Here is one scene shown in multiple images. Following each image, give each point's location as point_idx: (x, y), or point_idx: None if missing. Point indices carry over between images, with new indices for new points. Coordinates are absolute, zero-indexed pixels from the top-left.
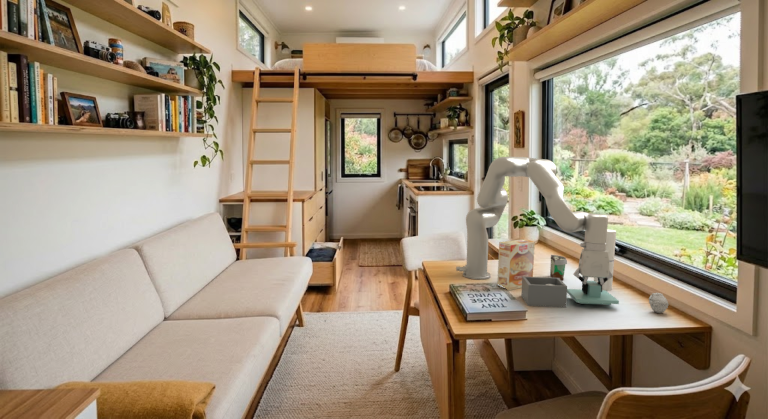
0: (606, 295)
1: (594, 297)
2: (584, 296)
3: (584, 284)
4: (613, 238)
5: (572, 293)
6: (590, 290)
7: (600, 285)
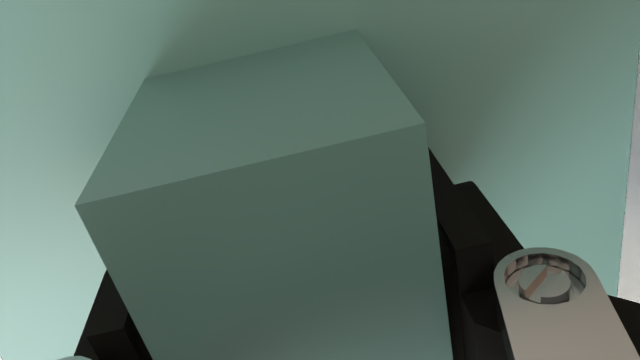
0: (44, 259)
1: (256, 52)
2: (438, 51)
3: (514, 267)
4: None
5: (604, 156)
6: (370, 74)
7: (110, 322)
